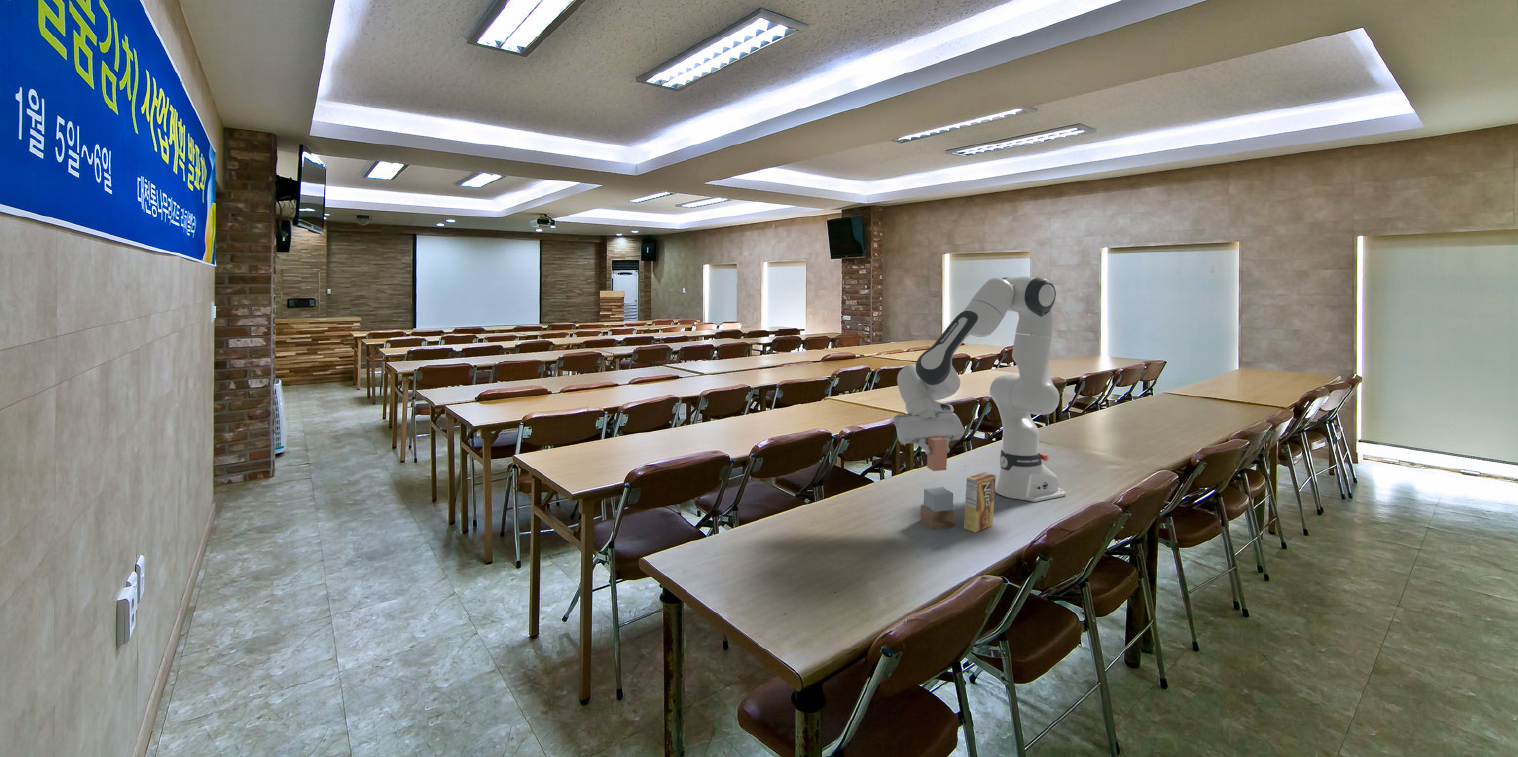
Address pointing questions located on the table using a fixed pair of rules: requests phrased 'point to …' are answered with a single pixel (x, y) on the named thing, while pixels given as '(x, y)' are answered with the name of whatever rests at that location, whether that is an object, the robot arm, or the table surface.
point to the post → (937, 454)
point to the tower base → (937, 518)
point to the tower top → (938, 499)
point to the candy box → (979, 502)
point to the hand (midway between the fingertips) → (938, 452)
